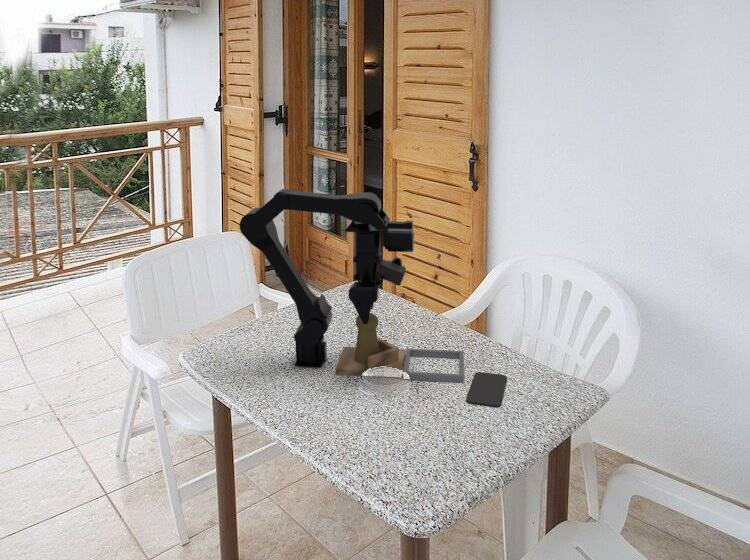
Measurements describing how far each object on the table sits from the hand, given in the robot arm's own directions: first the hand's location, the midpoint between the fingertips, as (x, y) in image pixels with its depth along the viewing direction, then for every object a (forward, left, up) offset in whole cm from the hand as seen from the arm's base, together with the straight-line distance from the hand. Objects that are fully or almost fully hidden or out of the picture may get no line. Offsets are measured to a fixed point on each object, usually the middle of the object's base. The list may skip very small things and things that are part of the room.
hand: (367, 316), depth 164 cm
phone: (+27, -10, -13) cm, 31 cm away
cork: (0, 0, -11) cm, 11 cm away
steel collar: (+15, 0, -12) cm, 20 cm away
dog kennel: (0, 0, -12) cm, 12 cm away
